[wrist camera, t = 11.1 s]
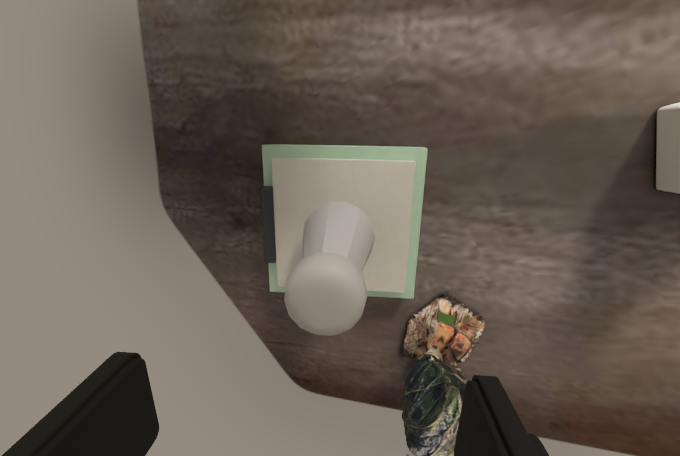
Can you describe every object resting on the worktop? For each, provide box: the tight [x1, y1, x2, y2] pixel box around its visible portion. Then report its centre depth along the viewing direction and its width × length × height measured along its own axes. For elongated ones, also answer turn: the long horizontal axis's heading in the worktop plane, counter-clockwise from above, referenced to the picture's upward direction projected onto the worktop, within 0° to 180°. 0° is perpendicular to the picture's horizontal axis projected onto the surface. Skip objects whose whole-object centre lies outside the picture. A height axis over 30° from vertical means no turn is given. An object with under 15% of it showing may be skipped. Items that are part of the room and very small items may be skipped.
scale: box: [261, 144, 428, 299], centre depth 29 cm, size 14×14×3 cm
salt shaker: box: [284, 202, 375, 335], centre depth 21 cm, size 6×6×13 cm
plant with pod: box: [402, 294, 485, 456], centre depth 24 cm, size 8×11×20 cm
